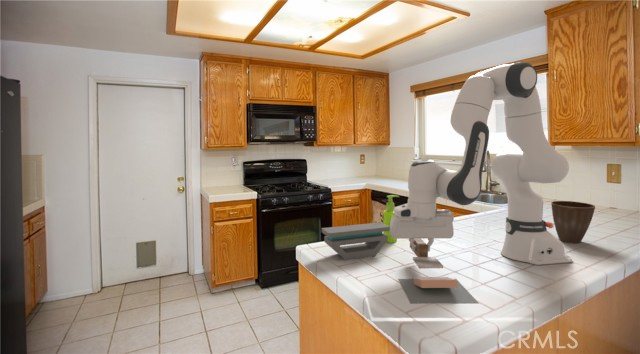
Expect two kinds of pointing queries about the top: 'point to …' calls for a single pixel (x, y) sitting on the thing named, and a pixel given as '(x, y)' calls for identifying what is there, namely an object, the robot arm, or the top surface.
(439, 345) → the top surface
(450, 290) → the mat
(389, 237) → the soap dispenser
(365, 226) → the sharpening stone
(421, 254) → the turner
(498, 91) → the robot arm
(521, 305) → the top surface
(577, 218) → the plant pot
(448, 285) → the tile
